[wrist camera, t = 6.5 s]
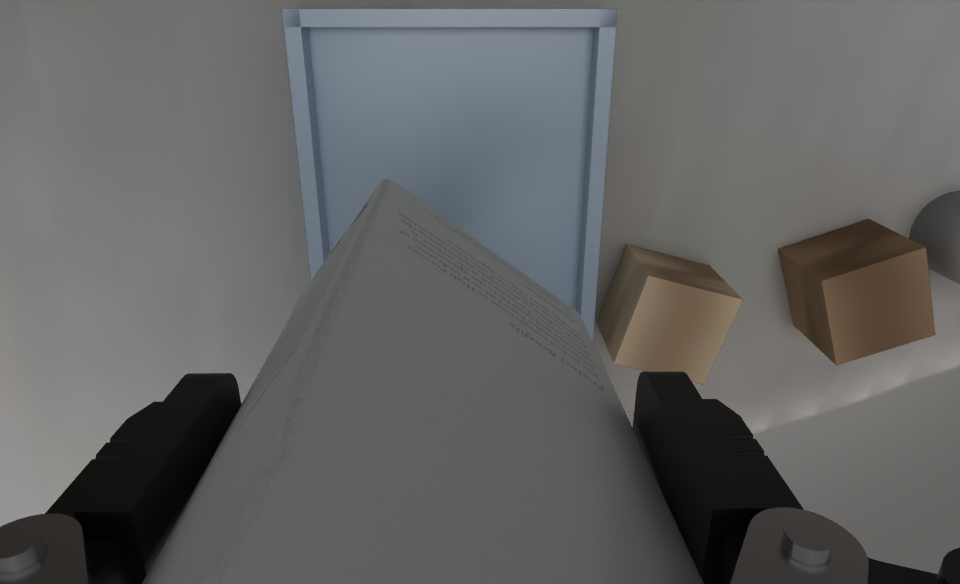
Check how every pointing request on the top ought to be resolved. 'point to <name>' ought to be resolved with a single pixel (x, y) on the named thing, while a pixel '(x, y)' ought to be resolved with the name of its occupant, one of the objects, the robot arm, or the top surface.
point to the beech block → (666, 314)
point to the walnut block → (858, 290)
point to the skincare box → (427, 434)
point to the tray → (461, 127)
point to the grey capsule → (940, 234)
